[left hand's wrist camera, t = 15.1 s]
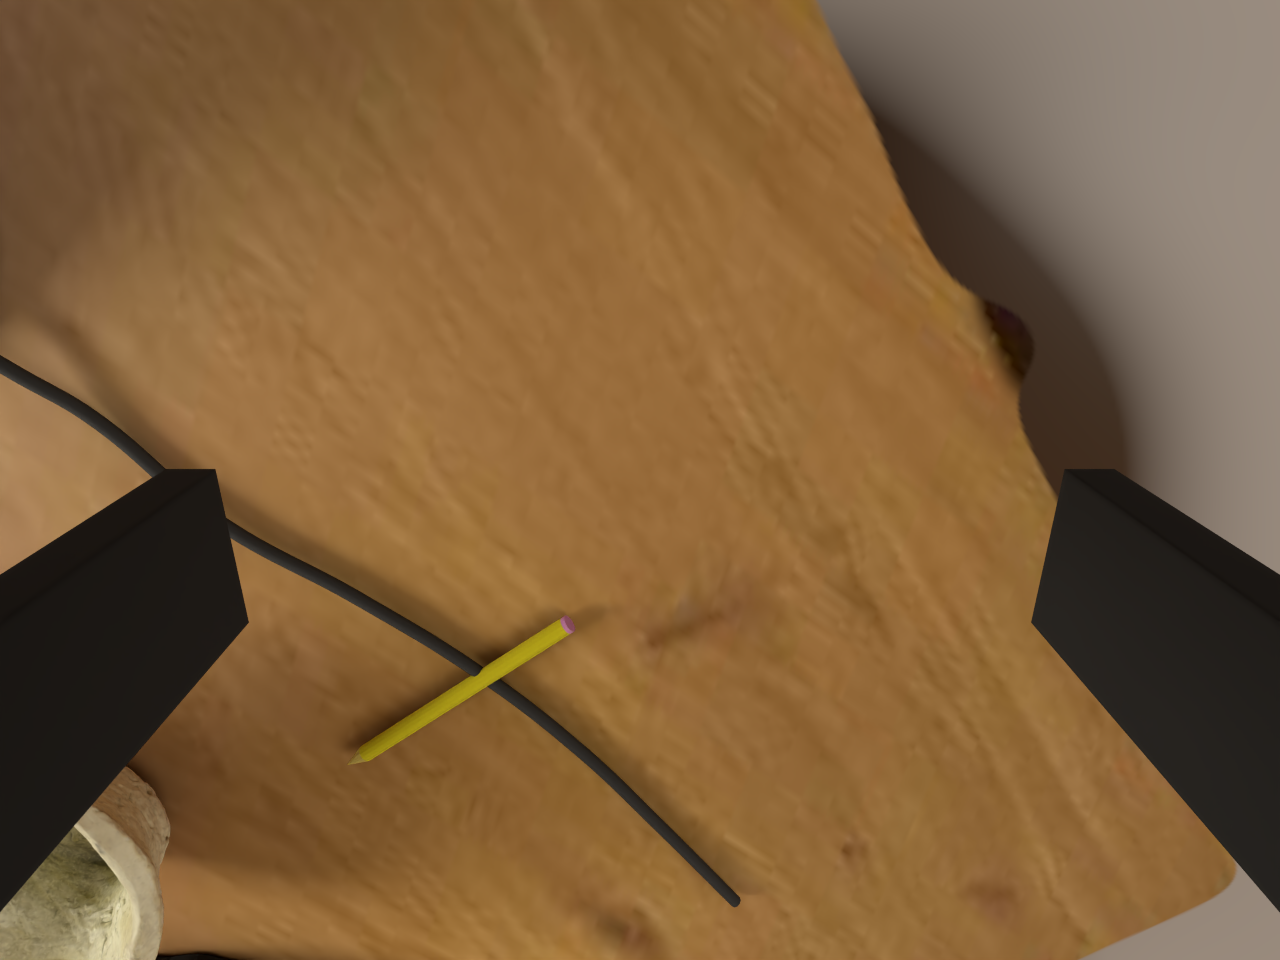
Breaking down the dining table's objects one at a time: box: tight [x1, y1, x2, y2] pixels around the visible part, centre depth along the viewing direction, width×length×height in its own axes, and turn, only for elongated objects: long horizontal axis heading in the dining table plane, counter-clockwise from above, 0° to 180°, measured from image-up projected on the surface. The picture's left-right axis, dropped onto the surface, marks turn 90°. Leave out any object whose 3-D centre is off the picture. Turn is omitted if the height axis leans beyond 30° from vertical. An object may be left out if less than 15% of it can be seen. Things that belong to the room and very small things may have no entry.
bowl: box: [0, 766, 170, 960], centre depth 41 cm, size 14×18×15 cm
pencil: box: [347, 616, 575, 765], centre depth 44 cm, size 16×1×1 cm, turn 126°
